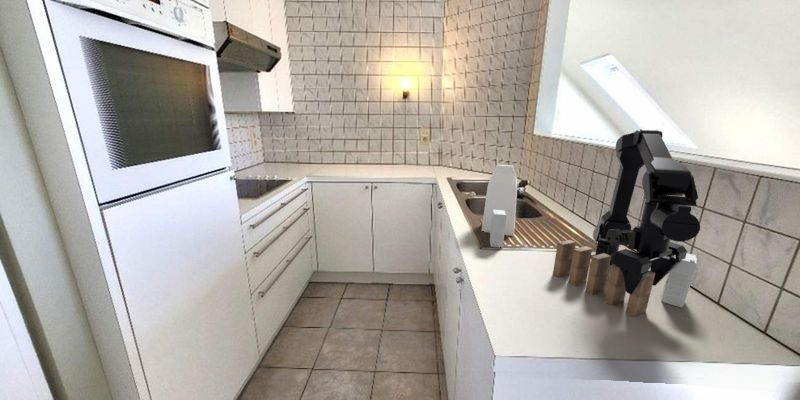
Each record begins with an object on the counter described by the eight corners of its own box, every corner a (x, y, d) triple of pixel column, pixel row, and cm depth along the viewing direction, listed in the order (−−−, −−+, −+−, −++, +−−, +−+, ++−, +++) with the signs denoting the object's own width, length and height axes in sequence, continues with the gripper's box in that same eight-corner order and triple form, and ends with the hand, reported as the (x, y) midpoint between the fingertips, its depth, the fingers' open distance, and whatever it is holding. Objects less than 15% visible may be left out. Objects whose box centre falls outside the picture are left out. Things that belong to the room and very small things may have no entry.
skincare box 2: (661, 292, 83) (672, 249, 80) (684, 298, 80) (696, 254, 77) (660, 302, 78) (672, 257, 75) (684, 309, 76) (697, 263, 73)
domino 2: (580, 278, 89) (586, 246, 87) (586, 281, 88) (592, 248, 85) (568, 282, 87) (573, 249, 84) (574, 285, 85) (580, 251, 83)
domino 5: (637, 307, 76) (646, 269, 74) (645, 311, 75) (655, 272, 72) (625, 312, 74) (634, 273, 71) (633, 316, 72) (643, 277, 70)
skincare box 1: (503, 248, 109) (506, 215, 106) (490, 246, 110) (493, 214, 107) (501, 241, 115) (504, 210, 112) (489, 240, 116) (492, 209, 113)
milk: (481, 231, 125) (487, 166, 118) (485, 222, 135) (490, 162, 129) (513, 236, 121) (521, 168, 114) (514, 226, 131) (521, 164, 124)
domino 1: (564, 271, 94) (569, 239, 91) (569, 273, 92) (575, 242, 89) (552, 274, 91) (557, 242, 89) (558, 277, 90) (563, 244, 87)
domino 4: (616, 296, 80) (624, 260, 78) (623, 300, 79) (632, 264, 76) (604, 301, 78) (611, 264, 76) (611, 305, 77) (619, 267, 74)
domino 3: (597, 287, 85) (604, 253, 82) (604, 290, 83) (611, 255, 81) (585, 291, 83) (591, 256, 80) (591, 294, 81) (598, 259, 79)
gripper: (640, 210, 80) (628, 266, 84) (593, 219, 72) (581, 281, 76) (695, 223, 70) (678, 286, 74) (647, 236, 62) (631, 305, 66)
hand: (641, 289), depth 73 cm, fingers open, 9 cm apart
